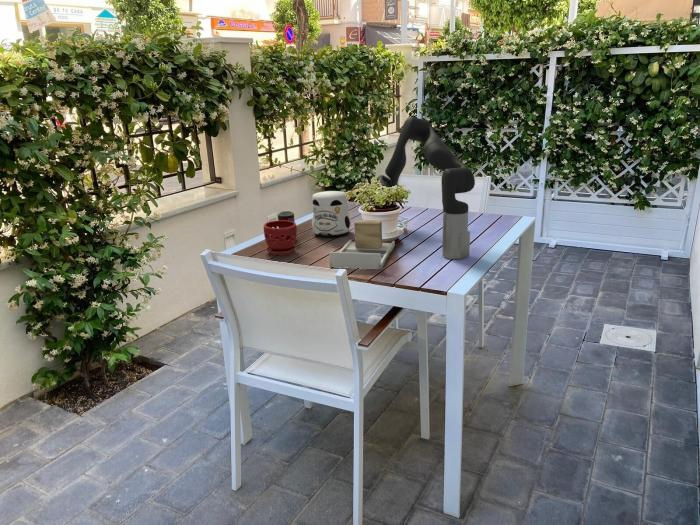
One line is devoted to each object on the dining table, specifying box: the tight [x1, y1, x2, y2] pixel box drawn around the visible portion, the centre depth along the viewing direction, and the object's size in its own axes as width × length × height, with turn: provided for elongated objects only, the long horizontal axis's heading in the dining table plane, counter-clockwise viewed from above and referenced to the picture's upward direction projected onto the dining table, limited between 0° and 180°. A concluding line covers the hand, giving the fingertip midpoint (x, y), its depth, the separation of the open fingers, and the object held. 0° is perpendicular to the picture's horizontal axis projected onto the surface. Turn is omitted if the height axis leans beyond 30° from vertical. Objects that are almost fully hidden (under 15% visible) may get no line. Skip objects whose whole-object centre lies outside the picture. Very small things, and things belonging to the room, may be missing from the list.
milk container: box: [311, 190, 352, 238], centre depth 239 cm, size 17×17×18 cm
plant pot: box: [263, 219, 298, 256], centre depth 217 cm, size 13×13×12 cm
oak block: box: [354, 219, 383, 248], centre depth 215 cm, size 5×10×10 cm, turn 76°
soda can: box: [277, 210, 296, 228], centre depth 233 cm, size 7×7×12 cm
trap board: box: [328, 239, 396, 271], centre depth 208 cm, size 30×19×6 cm, turn 166°
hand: (370, 201), depth 218 cm, fingers open, 8 cm apart
